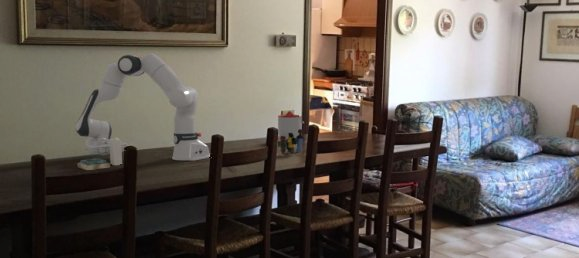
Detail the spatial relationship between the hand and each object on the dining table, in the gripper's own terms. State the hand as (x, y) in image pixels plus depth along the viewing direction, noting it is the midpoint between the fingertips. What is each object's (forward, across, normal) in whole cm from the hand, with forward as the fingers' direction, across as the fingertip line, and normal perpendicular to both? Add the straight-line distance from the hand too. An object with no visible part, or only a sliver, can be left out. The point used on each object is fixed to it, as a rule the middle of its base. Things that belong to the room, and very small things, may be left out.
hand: (114, 149), depth 313 cm
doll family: (+35, +91, +8) cm, 98 cm away
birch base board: (+2, -12, +7) cm, 14 cm away
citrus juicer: (-2, +121, +8) cm, 121 cm away
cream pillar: (+2, 0, +7) cm, 8 cm away
